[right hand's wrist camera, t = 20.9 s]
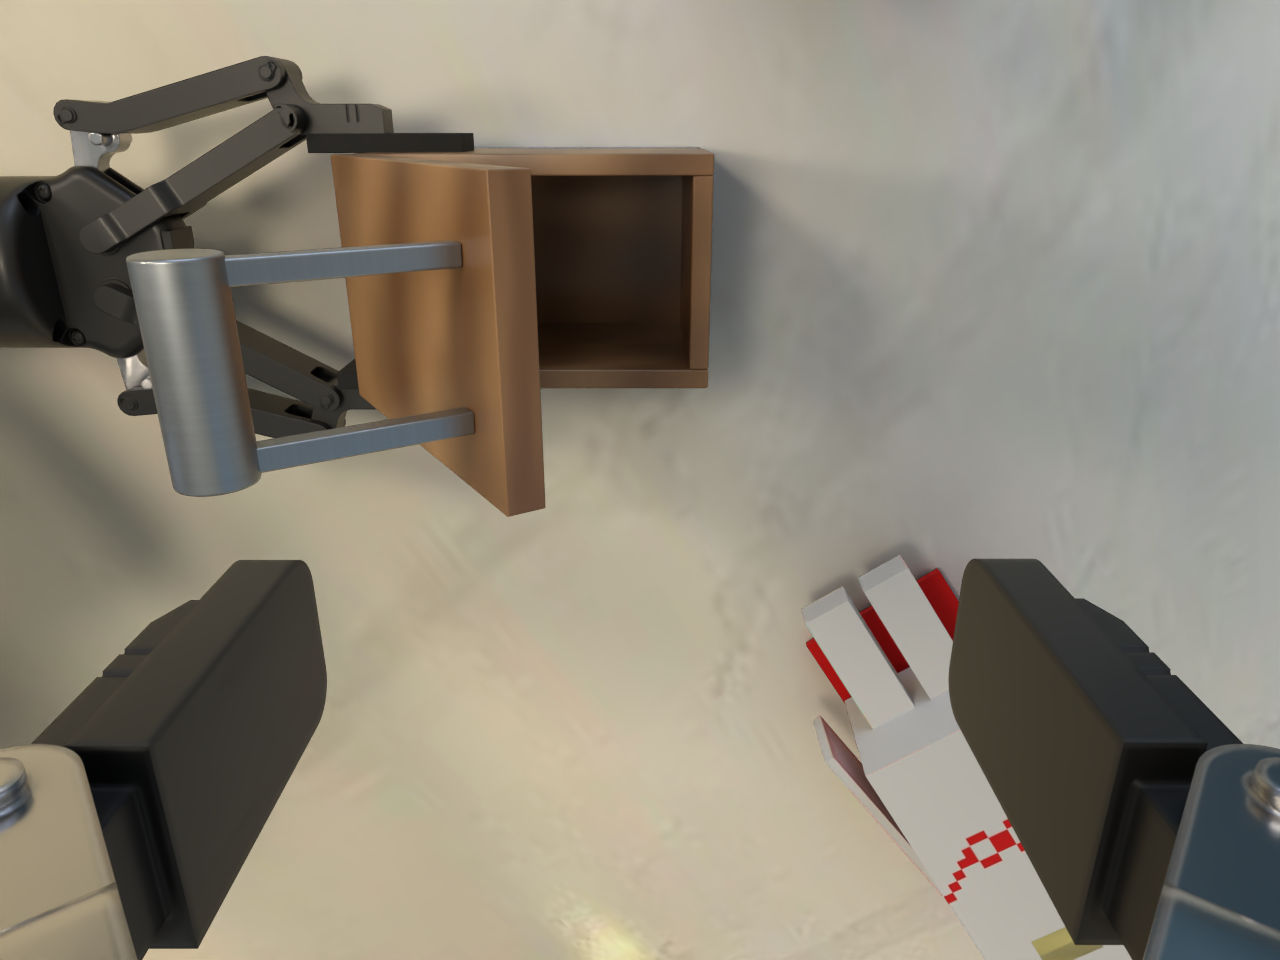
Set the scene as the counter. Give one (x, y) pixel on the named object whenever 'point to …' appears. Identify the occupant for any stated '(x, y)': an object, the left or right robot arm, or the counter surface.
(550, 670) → the counter surface
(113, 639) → the counter surface
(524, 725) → the counter surface
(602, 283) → the chest
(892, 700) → the toy
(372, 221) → the lid
